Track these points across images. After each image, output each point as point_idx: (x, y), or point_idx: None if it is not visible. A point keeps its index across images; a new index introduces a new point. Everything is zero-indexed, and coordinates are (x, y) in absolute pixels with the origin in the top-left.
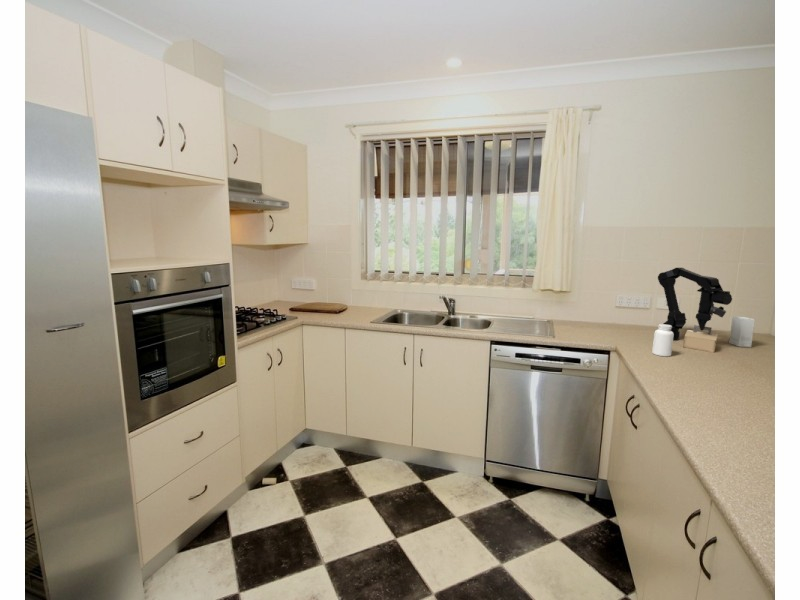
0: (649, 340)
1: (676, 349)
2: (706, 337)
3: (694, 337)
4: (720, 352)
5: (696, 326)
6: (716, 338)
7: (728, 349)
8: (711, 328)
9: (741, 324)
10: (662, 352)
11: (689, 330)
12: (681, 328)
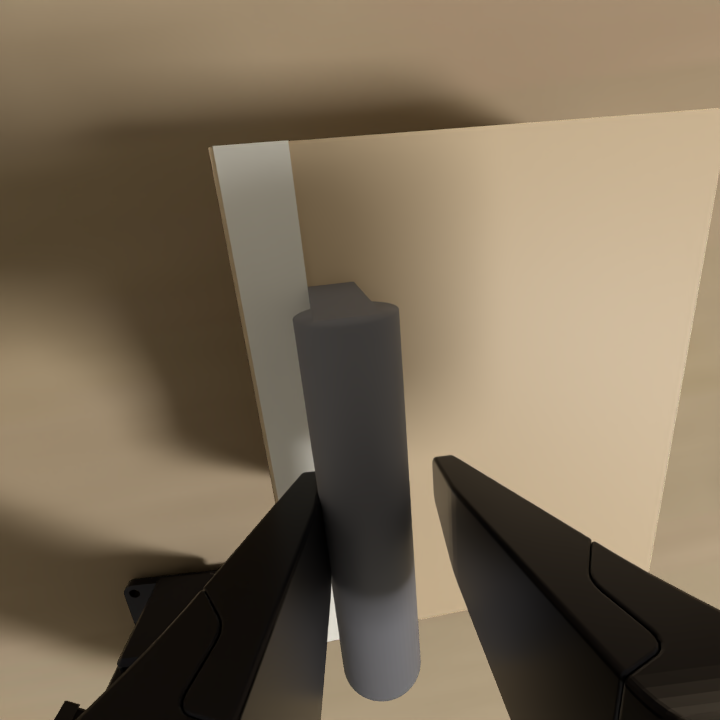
0: (479, 696)
1: (703, 479)
2: (623, 302)
3: (656, 453)
4: (496, 79)
5: (415, 638)
6: (608, 117)
7: (168, 4)
8: (381, 315)
9: None
10: None
11: (329, 615)
12: (72, 707)
